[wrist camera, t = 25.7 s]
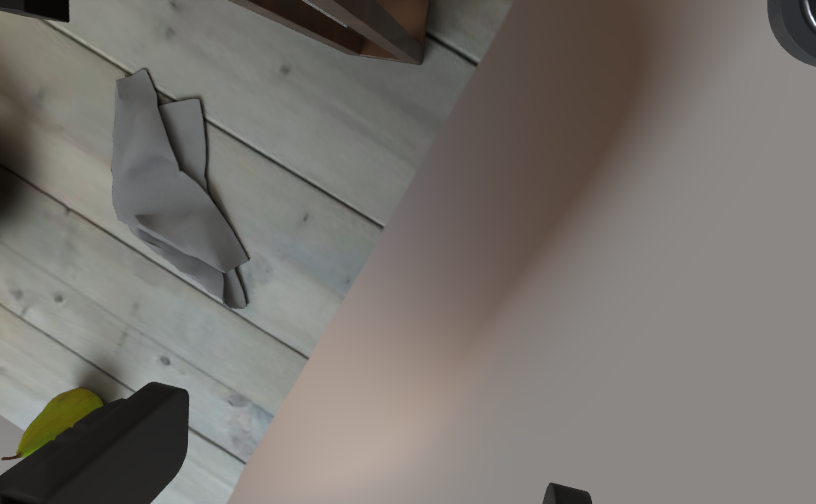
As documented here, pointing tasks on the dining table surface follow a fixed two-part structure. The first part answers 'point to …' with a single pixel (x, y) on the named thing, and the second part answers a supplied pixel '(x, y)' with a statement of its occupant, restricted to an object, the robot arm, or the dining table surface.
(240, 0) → the stand
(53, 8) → the silver and black bar
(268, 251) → the dining table surface
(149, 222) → the cloth
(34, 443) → the fruit
